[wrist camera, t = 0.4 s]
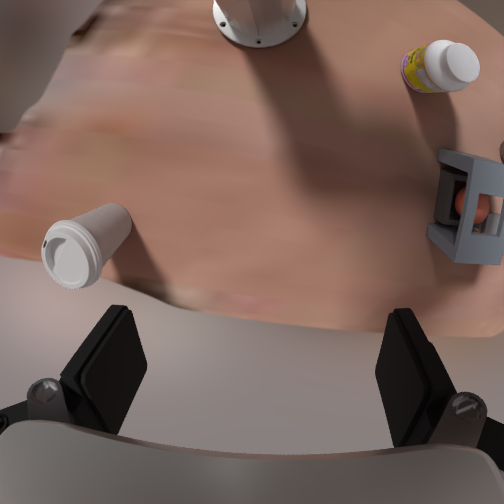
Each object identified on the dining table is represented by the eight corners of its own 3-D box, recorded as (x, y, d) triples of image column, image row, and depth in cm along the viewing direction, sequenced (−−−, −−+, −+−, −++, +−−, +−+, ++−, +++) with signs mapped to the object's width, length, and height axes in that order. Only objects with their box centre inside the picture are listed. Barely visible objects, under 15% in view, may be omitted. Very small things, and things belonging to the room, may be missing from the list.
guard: (439, 147, 40) (474, 158, 31) (483, 157, 39) (520, 170, 30) (426, 235, 45) (453, 263, 36) (469, 238, 45) (499, 265, 36)
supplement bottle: (421, 43, 34) (464, 26, 22) (446, 80, 35) (495, 75, 24) (390, 64, 36) (428, 49, 24) (417, 101, 37) (462, 101, 26)
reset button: (457, 184, 38) (467, 189, 36) (481, 188, 38) (492, 193, 35) (452, 215, 40) (461, 222, 38) (476, 218, 40) (485, 225, 37)
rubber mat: (485, 212, 43) (488, 213, 42) (508, 215, 42) (511, 217, 41) (475, 255, 46) (477, 257, 45) (498, 257, 46) (500, 258, 45)
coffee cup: (120, 182, 46) (65, 212, 33) (151, 234, 49) (108, 279, 36) (81, 210, 49) (26, 245, 35) (110, 257, 52) (64, 303, 38)
